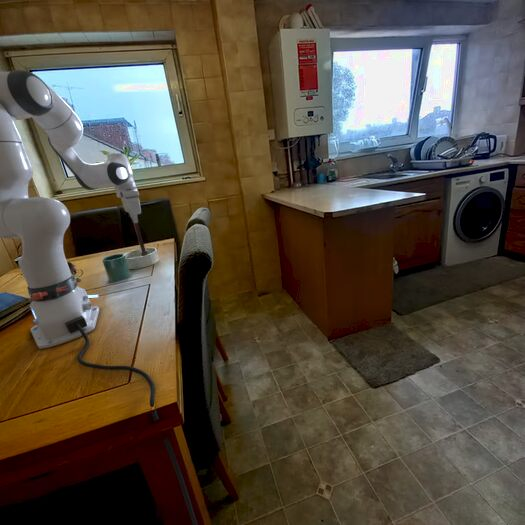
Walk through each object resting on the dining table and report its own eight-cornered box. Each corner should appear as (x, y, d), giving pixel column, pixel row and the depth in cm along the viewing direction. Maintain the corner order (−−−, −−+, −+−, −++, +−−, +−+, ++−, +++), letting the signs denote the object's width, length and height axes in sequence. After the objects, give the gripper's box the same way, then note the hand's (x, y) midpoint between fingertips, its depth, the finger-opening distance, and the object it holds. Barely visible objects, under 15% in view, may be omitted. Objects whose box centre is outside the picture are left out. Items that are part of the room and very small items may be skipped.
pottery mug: (83, 271, 137) (78, 260, 130) (74, 287, 130) (67, 276, 124) (58, 268, 136) (51, 257, 130) (47, 284, 129) (39, 272, 123)
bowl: (163, 263, 134) (160, 251, 132) (128, 273, 126) (124, 261, 124) (154, 256, 147) (151, 245, 145) (122, 265, 138) (118, 253, 136)
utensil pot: (132, 278, 119) (126, 256, 116) (110, 284, 115) (103, 262, 112) (128, 273, 126) (122, 252, 123) (108, 279, 122) (101, 257, 118)
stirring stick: (149, 258, 135) (136, 213, 127) (143, 260, 134) (130, 214, 126) (147, 257, 137) (135, 213, 129) (142, 258, 136) (129, 214, 128)
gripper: (115, 192, 131) (124, 221, 136) (123, 194, 114) (132, 226, 119) (129, 190, 134) (137, 218, 139) (139, 191, 118) (147, 223, 123)
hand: (135, 222), depth 129 cm, fingers closed on stirring stick, 2 cm apart
